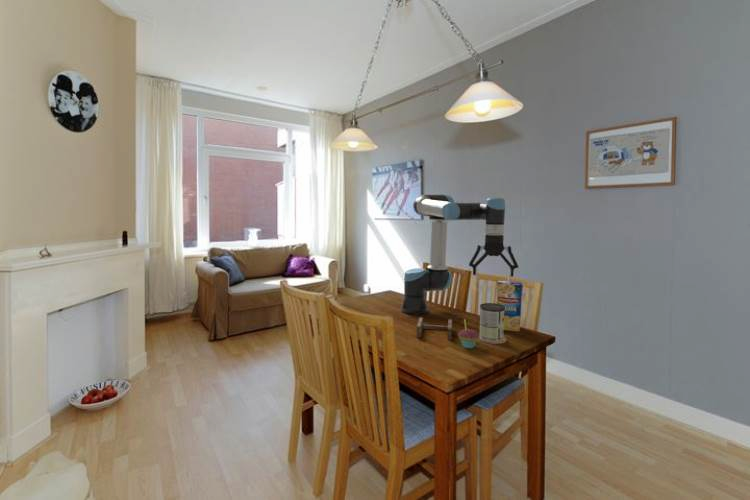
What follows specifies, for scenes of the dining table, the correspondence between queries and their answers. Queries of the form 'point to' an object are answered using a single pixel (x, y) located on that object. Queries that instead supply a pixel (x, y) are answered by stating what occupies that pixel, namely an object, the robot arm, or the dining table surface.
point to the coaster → (494, 341)
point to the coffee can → (491, 321)
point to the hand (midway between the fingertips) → (492, 283)
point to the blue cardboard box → (510, 303)
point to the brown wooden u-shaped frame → (434, 327)
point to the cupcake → (468, 337)
